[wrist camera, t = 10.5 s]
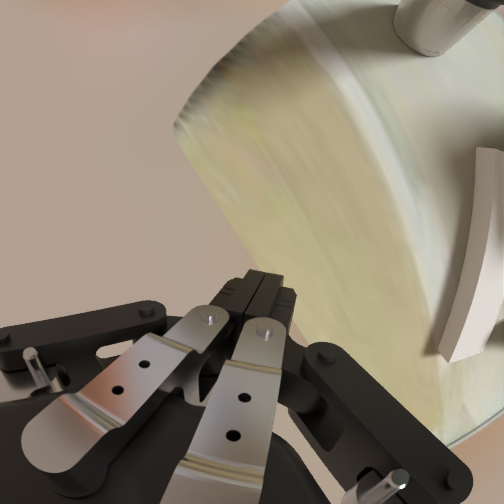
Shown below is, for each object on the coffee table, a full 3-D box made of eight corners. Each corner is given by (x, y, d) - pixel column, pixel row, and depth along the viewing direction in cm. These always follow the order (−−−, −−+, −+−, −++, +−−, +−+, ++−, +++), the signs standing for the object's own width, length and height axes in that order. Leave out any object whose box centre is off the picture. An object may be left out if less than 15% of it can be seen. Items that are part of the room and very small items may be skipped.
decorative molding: (506, 158, 27) (473, 146, 27) (526, 161, 23) (494, 148, 23) (470, 338, 38) (435, 347, 38) (483, 351, 34) (448, 363, 34)
